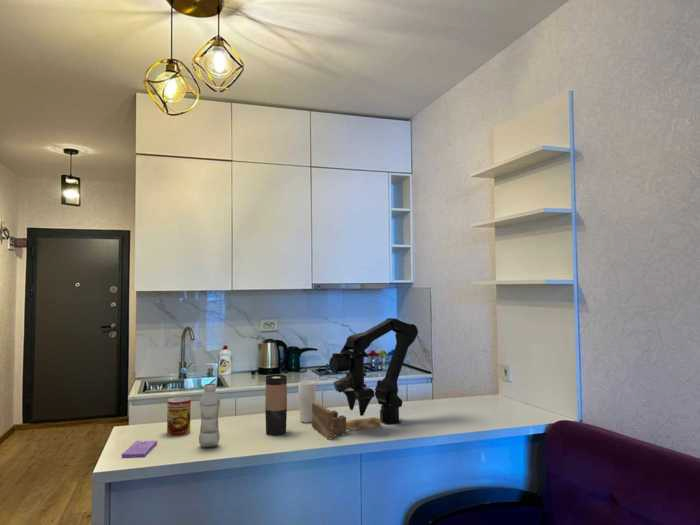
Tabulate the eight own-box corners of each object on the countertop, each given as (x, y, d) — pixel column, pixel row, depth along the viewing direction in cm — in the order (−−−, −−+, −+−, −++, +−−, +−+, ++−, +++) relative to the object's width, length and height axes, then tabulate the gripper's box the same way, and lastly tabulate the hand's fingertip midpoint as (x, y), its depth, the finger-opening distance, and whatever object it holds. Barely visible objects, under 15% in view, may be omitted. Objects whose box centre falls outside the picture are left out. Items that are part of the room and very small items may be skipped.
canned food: (166, 437, 173) (166, 402, 173) (168, 431, 180) (168, 397, 181) (189, 435, 175) (190, 400, 175) (190, 429, 182) (191, 396, 183)
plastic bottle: (200, 443, 165) (201, 383, 166) (221, 443, 166) (222, 382, 167) (196, 449, 159) (197, 386, 160) (218, 449, 159) (218, 386, 160)
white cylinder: (313, 424, 188) (313, 384, 189) (296, 423, 190) (296, 383, 191) (317, 419, 195) (317, 381, 196) (301, 418, 196) (301, 380, 197)
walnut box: (332, 425, 187) (332, 400, 187) (349, 436, 172) (348, 410, 173) (312, 427, 184) (312, 402, 184) (327, 439, 169) (327, 412, 170)
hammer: (375, 424, 189) (374, 410, 189) (382, 428, 183) (382, 414, 183) (327, 429, 181) (327, 415, 181) (334, 434, 175) (334, 420, 176)
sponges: (157, 446, 165) (157, 440, 165) (144, 459, 152) (145, 452, 152) (135, 446, 164) (135, 440, 164) (121, 459, 151) (121, 453, 151)
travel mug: (290, 430, 180) (290, 375, 181) (280, 436, 172) (280, 378, 173) (271, 428, 182) (271, 374, 183) (261, 434, 175) (261, 377, 176)
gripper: (327, 367, 189) (327, 409, 188) (346, 375, 172) (346, 421, 171) (353, 365, 193) (353, 406, 192) (375, 373, 176) (375, 417, 175)
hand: (356, 412), depth 182 cm, fingers open, 9 cm apart
